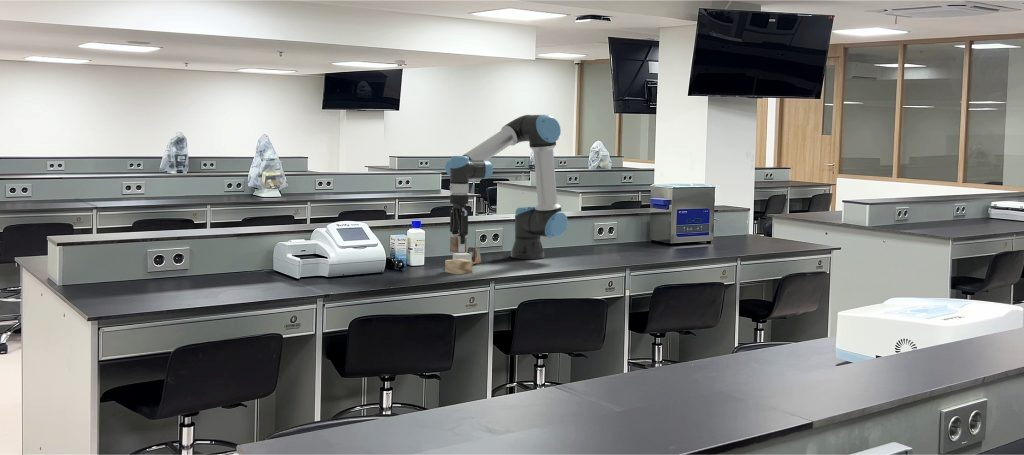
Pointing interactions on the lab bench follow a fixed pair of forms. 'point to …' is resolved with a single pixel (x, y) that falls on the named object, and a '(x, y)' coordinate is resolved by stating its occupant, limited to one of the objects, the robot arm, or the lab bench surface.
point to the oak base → (458, 266)
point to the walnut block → (455, 245)
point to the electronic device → (475, 254)
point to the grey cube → (462, 256)
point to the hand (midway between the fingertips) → (458, 250)
